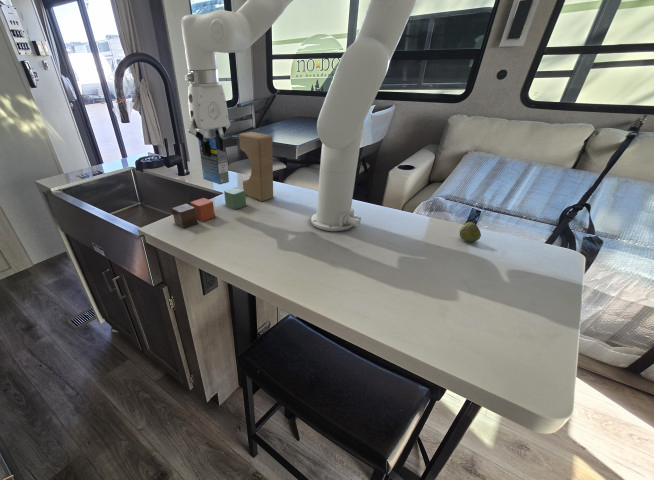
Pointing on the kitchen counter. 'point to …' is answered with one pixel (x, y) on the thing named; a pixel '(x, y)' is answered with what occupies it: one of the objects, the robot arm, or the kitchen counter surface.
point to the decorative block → (258, 165)
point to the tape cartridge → (214, 164)
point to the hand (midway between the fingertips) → (213, 153)
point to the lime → (470, 232)
